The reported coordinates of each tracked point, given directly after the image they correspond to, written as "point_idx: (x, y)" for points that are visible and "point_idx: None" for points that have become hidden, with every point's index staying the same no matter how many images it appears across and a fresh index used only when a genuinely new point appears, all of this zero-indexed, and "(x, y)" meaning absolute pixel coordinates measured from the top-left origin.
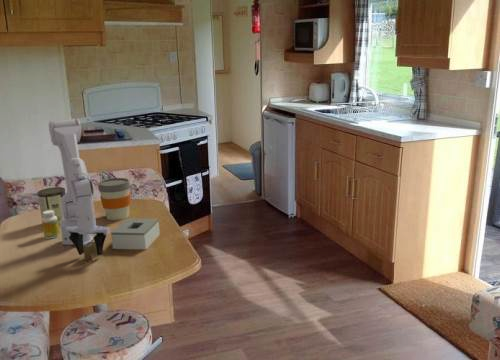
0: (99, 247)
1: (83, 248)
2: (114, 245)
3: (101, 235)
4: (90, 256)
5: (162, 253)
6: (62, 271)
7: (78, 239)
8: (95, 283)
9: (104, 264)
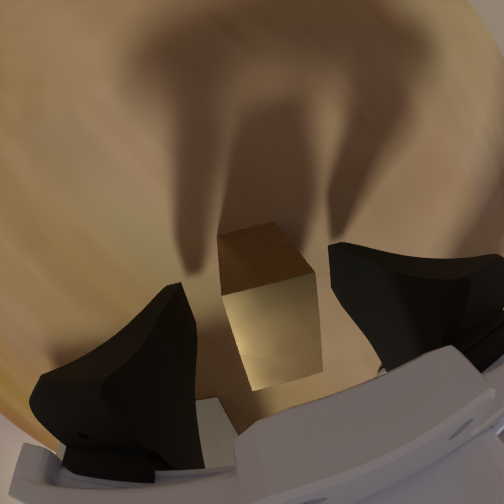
0: (130, 323)
1: (303, 262)
2: (207, 413)
3: (73, 444)
4: (225, 245)
5: (4, 382)
6: (305, 29)
7: (411, 323)
8: (10, 24)
9: (83, 215)
